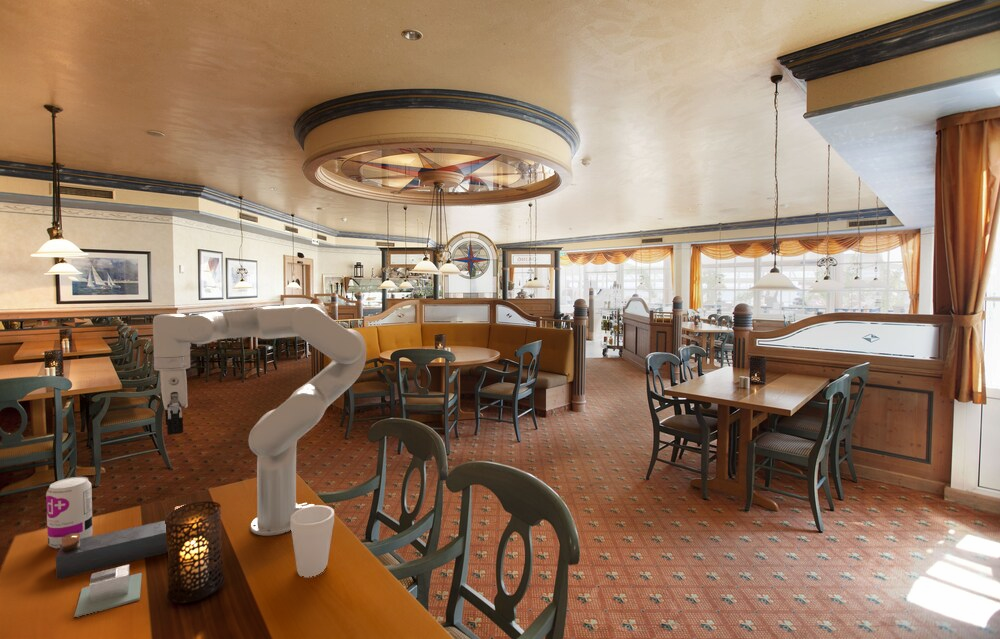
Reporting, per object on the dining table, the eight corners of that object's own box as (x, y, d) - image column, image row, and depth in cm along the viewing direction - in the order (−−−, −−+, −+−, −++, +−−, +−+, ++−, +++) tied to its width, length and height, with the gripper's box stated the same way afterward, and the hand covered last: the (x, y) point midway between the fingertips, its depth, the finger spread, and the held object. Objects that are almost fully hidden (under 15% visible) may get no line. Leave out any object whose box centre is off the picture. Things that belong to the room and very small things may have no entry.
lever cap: (129, 582, 100) (129, 561, 100) (128, 593, 97) (127, 572, 96) (93, 591, 97) (92, 570, 97) (90, 604, 93) (89, 582, 93)
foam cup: (341, 569, 108) (341, 515, 107) (301, 587, 101) (301, 529, 100) (322, 552, 114) (322, 501, 114) (283, 568, 108) (283, 514, 107)
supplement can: (65, 552, 111) (64, 491, 110) (39, 547, 113) (36, 487, 112) (101, 534, 119) (99, 477, 118) (75, 530, 121) (73, 474, 120)
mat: (141, 574, 104) (141, 572, 104) (139, 599, 96) (139, 597, 96) (82, 590, 98) (82, 588, 98) (74, 618, 90) (74, 616, 90)
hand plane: (188, 534, 121) (187, 500, 120) (189, 546, 115) (188, 511, 115) (62, 563, 107) (61, 525, 106) (56, 579, 101) (55, 539, 101)
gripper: (193, 366, 114) (194, 435, 115) (187, 357, 127) (189, 418, 128) (154, 369, 109) (156, 440, 110) (153, 359, 123) (155, 422, 124)
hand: (174, 428), depth 119 cm, fingers open, 9 cm apart
